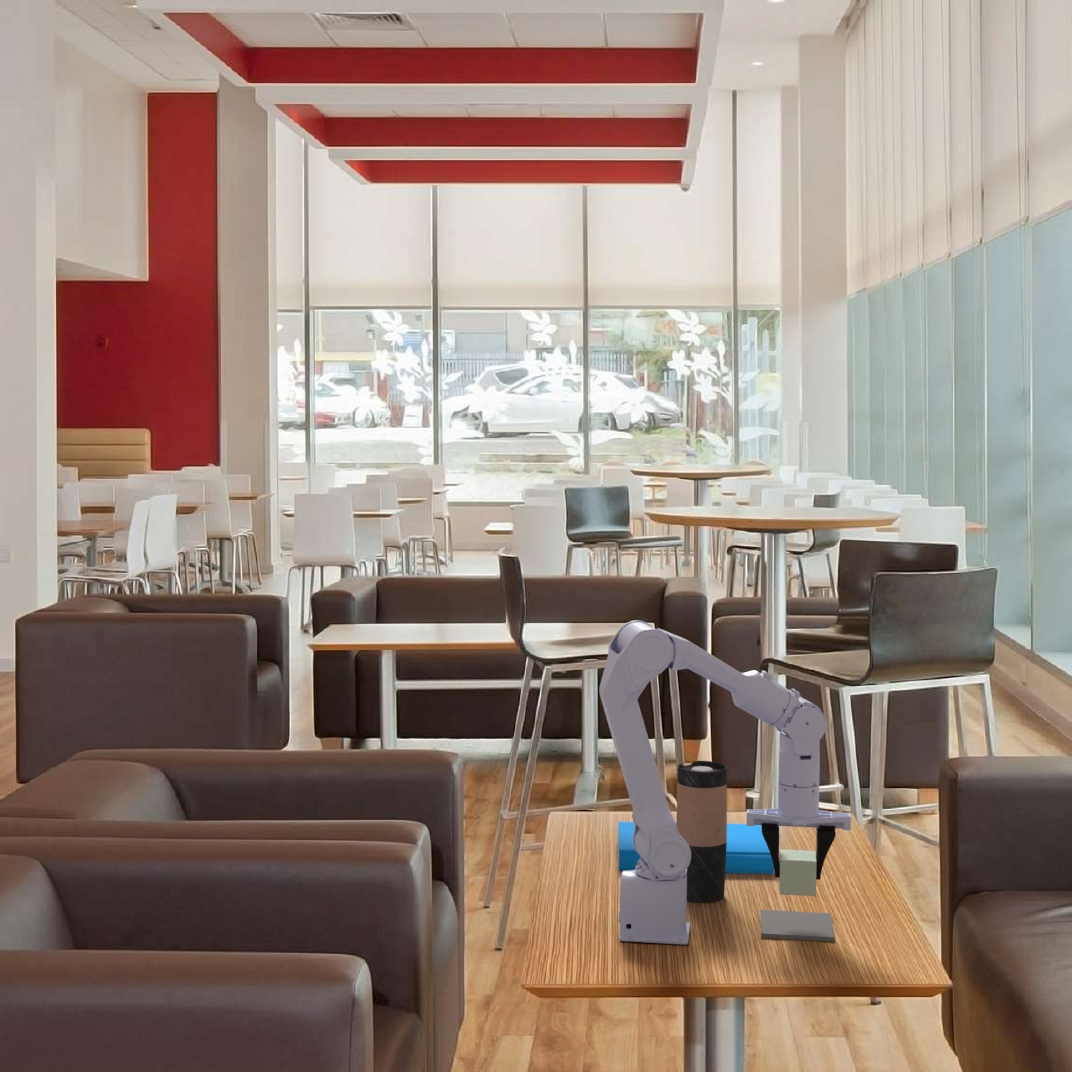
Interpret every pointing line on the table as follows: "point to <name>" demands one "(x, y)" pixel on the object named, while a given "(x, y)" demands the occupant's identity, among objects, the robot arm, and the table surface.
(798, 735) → the robot arm
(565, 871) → the table surface
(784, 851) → the cube
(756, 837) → the book
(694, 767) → the travel mug
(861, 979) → the table surface
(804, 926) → the coaster
